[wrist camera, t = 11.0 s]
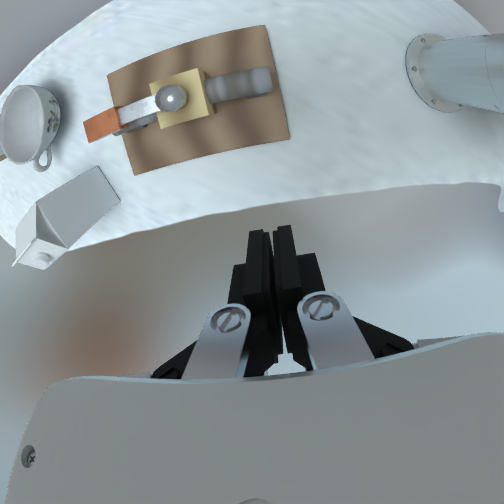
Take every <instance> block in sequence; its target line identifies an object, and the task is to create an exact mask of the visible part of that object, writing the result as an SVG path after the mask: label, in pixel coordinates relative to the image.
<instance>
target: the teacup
mask: <svg viewBox="0 0 504 504" xmlns="http://www.w3.org/2000/svg"><path fill="white" fill-rule="evenodd" d="M60 116H61V112H60V107H59V104H58V102H57V100H56V98H55V97H54V96H53V95H52V93H50V92H49V91H48V90H46V89H44V88H42V87H38V86H34V85H19V86H17V87H15V88H14V89H13V90H12V92H11V93H10V94H9V96H8V97H7V99H6V101H5V103H4V105H3V108H2V112H1V115H0V144H1V146H2V149H3V151H4V153H5V155H6V156H7V158H8V159H9V160H10V161H12V162H13V163H15V164H26V163H28V162H30V161H31V160H33V166H34V168H35V170H36V171H38V172H43V171H45V170H47V169H48V168H49V166H50V164H51V160H52V156H51V150H50V143H51V142H52V140H53V139H54V137H55V135H56V133H57V130H58V128H59V124H60ZM46 148H47V156H48V161H47V165H46V166H41V165H40V164H39V158H40V156H41V154H42V152H43V151H44V150H45V149H46Z"/></svg>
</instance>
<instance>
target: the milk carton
mask: <svg viewBox="0 0 504 504" xmlns="http://www.w3.org/2000/svg"><path fill="white" fill-rule="evenodd" d="M119 202H120V200H119V198H118V197H117V195H116V194H115V192H114V191H113V189H112V188H111V186H110V184H109V183H108V181H107V180H106V178H105V177H104V175H103V174H102V172H101V170H100V169H99V167H98V166H96V167H94V168H92V169H90V170H89V171H87V172H85V173H83V174H81V175H79V176H78V177H76V178H74V179H72V180H70V181H69V182H67V183H65V184H64V185H62V186H60V187H59V188H57V189H55V190H54V191H52V192H50V193H49V194H47V195H46V196H44V197H42V198H41V199H39V200H38V201H36V202H35V203H34V205H33V206H32V207H31V208H30V210H29V211H28V212H27V214H26V215H25V216H24V218H23V219H22V221H21V222H20V223H19V225H18V226H17V228H16V260H15V262H14V263H13V264H12V266H14V265H15V264H16V263H17V262H18V263H22V264H25V265H29V266H32V267H35V268H39V269H43V270H44V269H46V268H47V267H49V266H50V265H51V264H52V263H53V262H54V261H55V260H56V259H58V258H59V257H60V256H61V255H62V254H63V253H65V252H66V251H67V250H68V249H69V248H70V247H71V246H72V245H73V244H74V243H75V242H76V241H77V240H78V239H79V238H80V237H81V236H82V235H83V234H84V233H86V232H87V231H88V230H89V229H90V228H91V227H92V226H93V225H94V224H95V223H96V222H97V221H99V220H100V219H101V218H102V217H103V216H104V215H105V214H106V213H108V212H109V211H110V210H111V209H112V208H113V207H115V206H116V205H117V204H118V203H119Z"/></svg>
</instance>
